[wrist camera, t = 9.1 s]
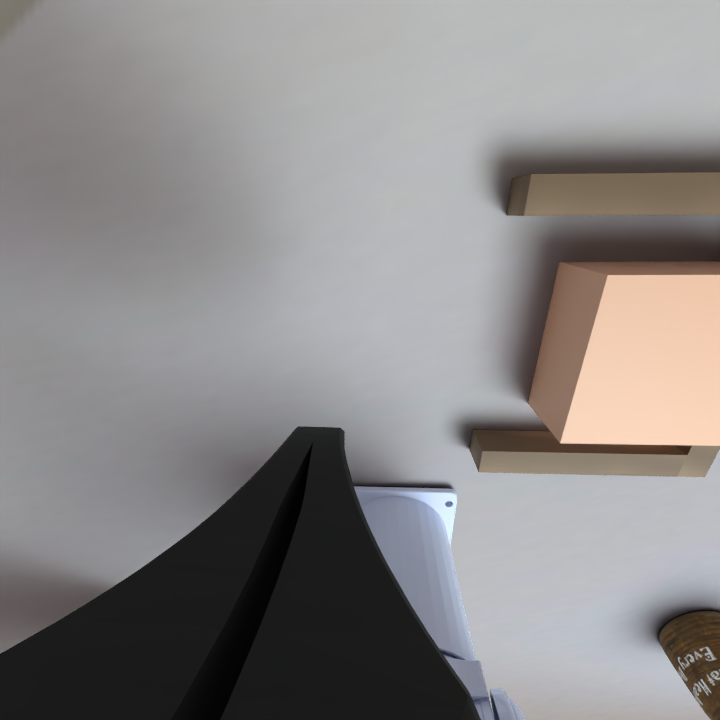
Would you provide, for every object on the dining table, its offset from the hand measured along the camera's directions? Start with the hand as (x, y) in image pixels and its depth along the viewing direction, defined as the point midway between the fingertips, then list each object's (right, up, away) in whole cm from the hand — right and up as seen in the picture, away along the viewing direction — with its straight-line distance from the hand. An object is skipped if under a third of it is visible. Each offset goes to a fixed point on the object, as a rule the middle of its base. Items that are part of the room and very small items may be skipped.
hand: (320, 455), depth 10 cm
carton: (+15, +4, +8) cm, 18 cm away
